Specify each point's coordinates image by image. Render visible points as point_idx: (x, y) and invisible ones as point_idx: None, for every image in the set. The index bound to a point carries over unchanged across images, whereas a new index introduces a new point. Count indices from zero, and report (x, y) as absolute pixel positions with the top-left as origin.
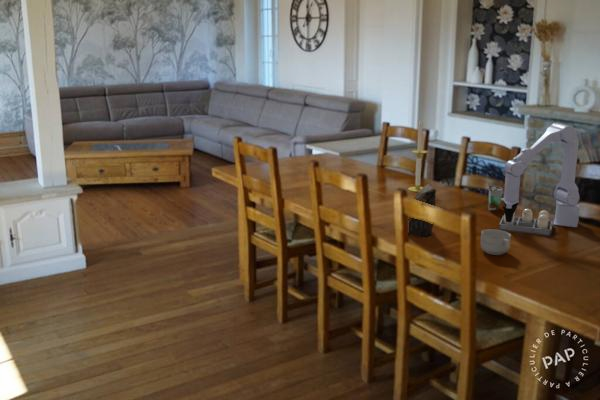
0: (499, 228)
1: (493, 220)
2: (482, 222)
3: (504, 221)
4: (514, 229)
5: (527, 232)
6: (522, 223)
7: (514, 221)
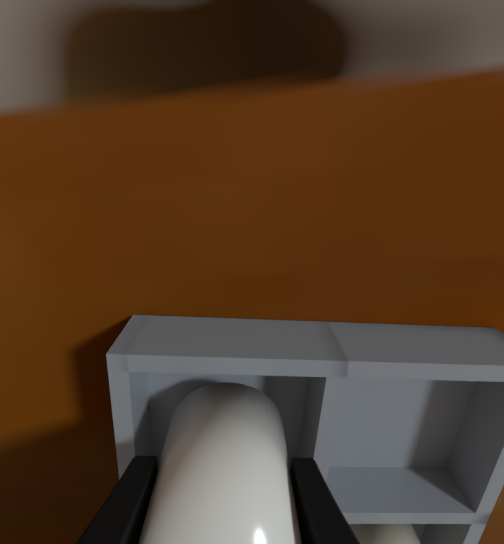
0: (127, 330)
1: (499, 230)
2: (390, 89)
3: (193, 423)
4: None
5: None
6: None
7: None
